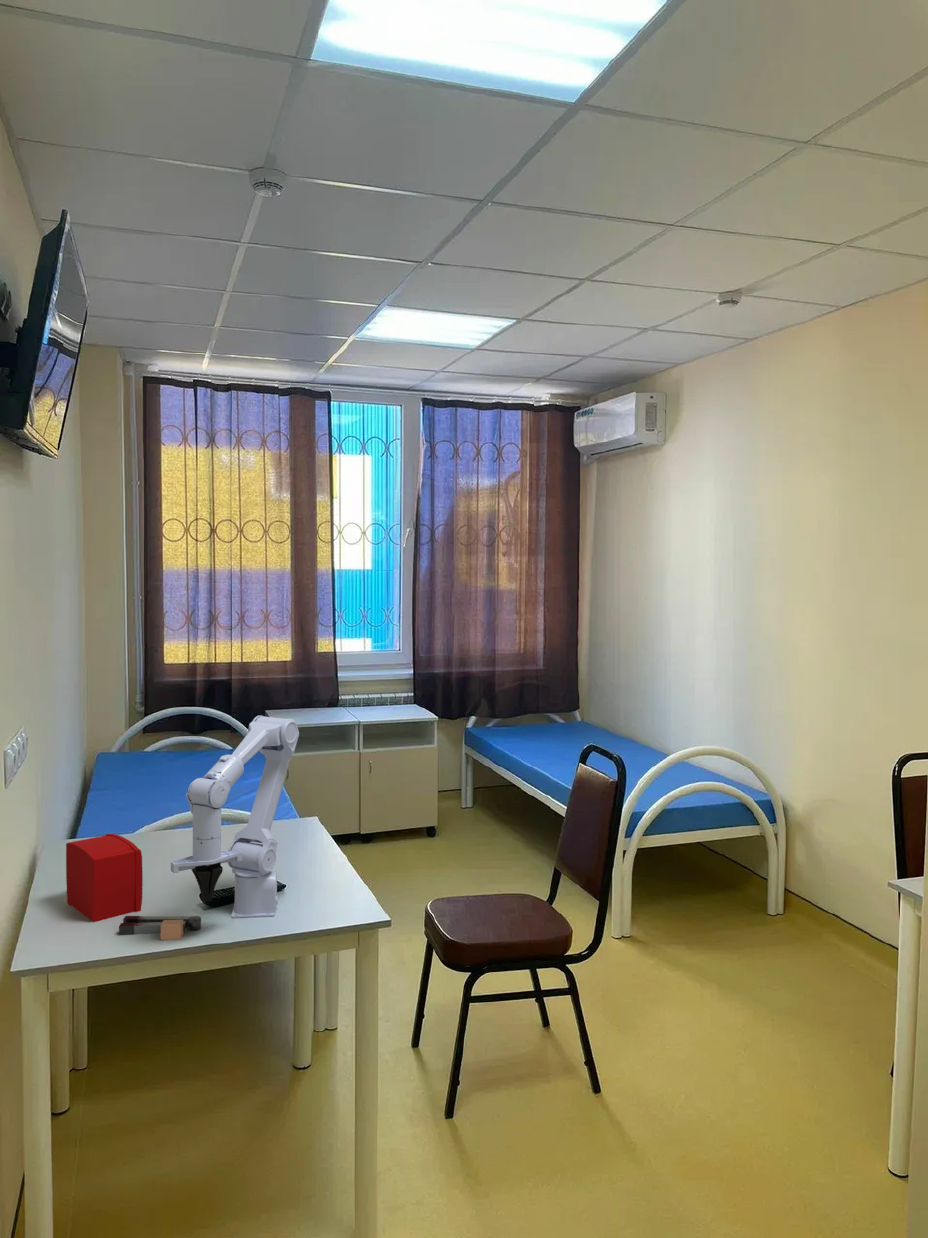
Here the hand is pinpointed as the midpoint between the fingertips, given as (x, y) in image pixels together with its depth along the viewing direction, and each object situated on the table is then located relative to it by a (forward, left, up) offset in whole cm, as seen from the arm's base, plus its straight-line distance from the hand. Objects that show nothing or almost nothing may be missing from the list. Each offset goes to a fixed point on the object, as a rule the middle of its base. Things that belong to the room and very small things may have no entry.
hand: (206, 900), depth 186 cm
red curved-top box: (+25, -19, -8) cm, 32 cm away
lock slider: (+7, 0, -8) cm, 10 cm away
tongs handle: (+11, -3, -8) cm, 14 cm away
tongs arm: (+10, -5, -8) cm, 13 cm away
